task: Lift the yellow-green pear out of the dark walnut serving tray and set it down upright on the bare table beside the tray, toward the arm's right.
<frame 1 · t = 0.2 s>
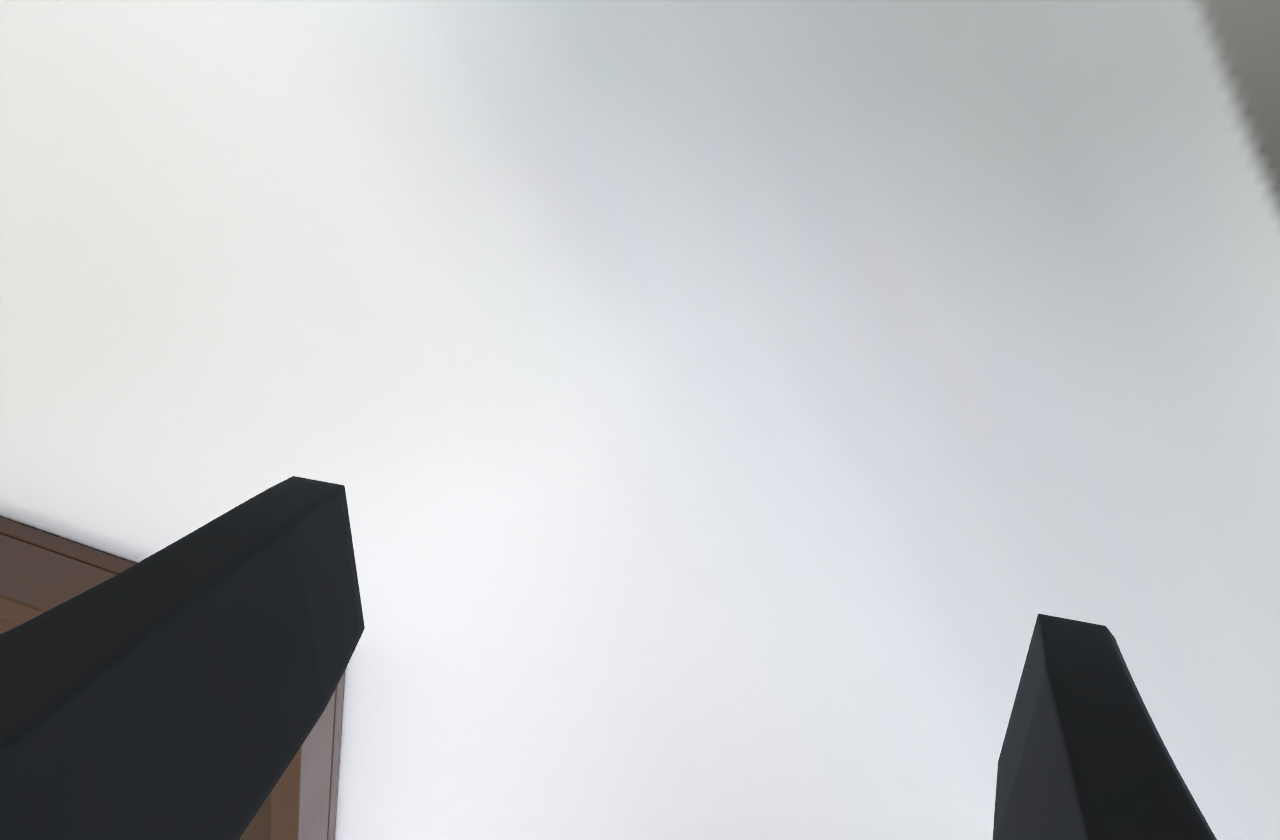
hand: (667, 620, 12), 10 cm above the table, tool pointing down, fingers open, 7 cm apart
tray: (90, 759, 35), on the table
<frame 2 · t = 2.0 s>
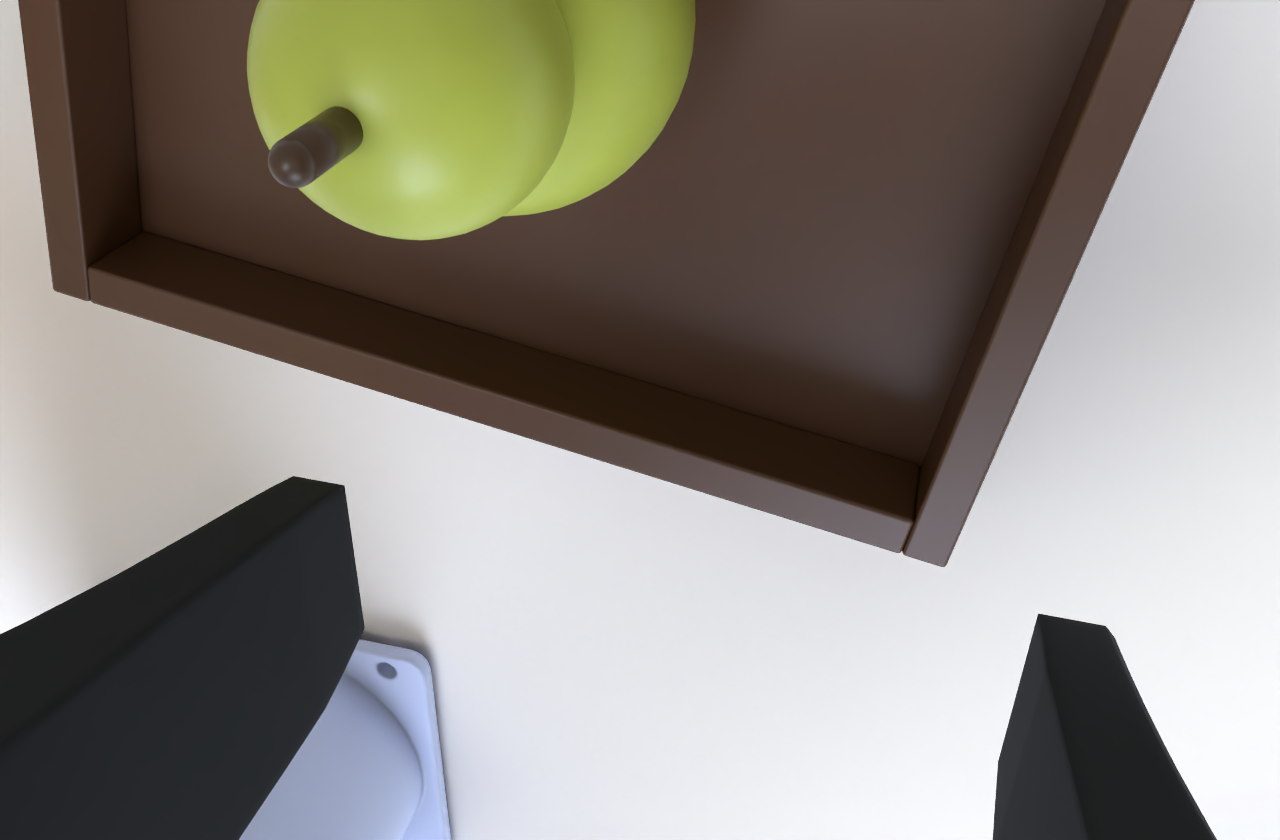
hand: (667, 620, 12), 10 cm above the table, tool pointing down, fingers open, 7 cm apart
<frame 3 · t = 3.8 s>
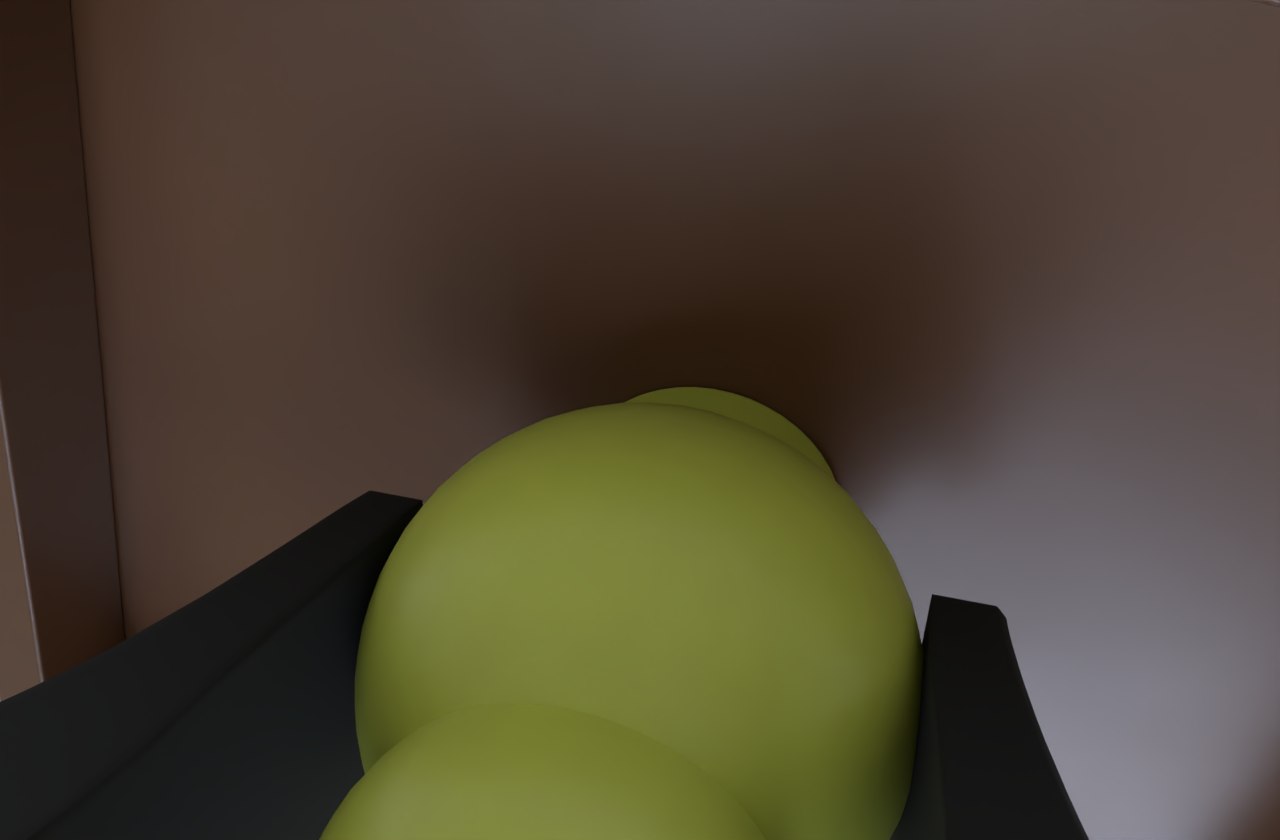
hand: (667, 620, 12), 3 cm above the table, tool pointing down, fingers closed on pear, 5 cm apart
tray: (718, 478, 14), on the table
pear: (706, 502, 14), point 1 cm above the table, touching gripper, tray
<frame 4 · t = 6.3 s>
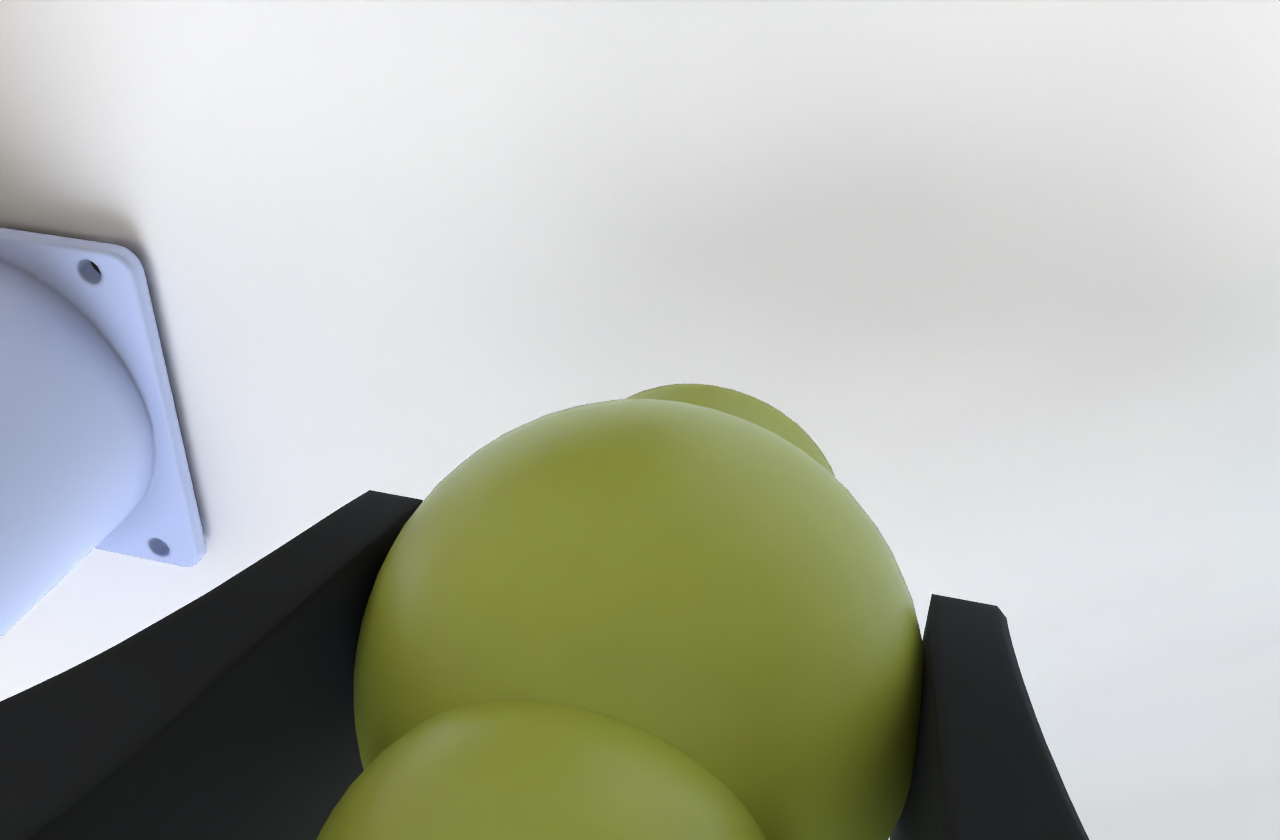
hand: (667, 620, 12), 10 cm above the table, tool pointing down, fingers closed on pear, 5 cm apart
pear: (706, 499, 14), point 7 cm above the table, touching gripper
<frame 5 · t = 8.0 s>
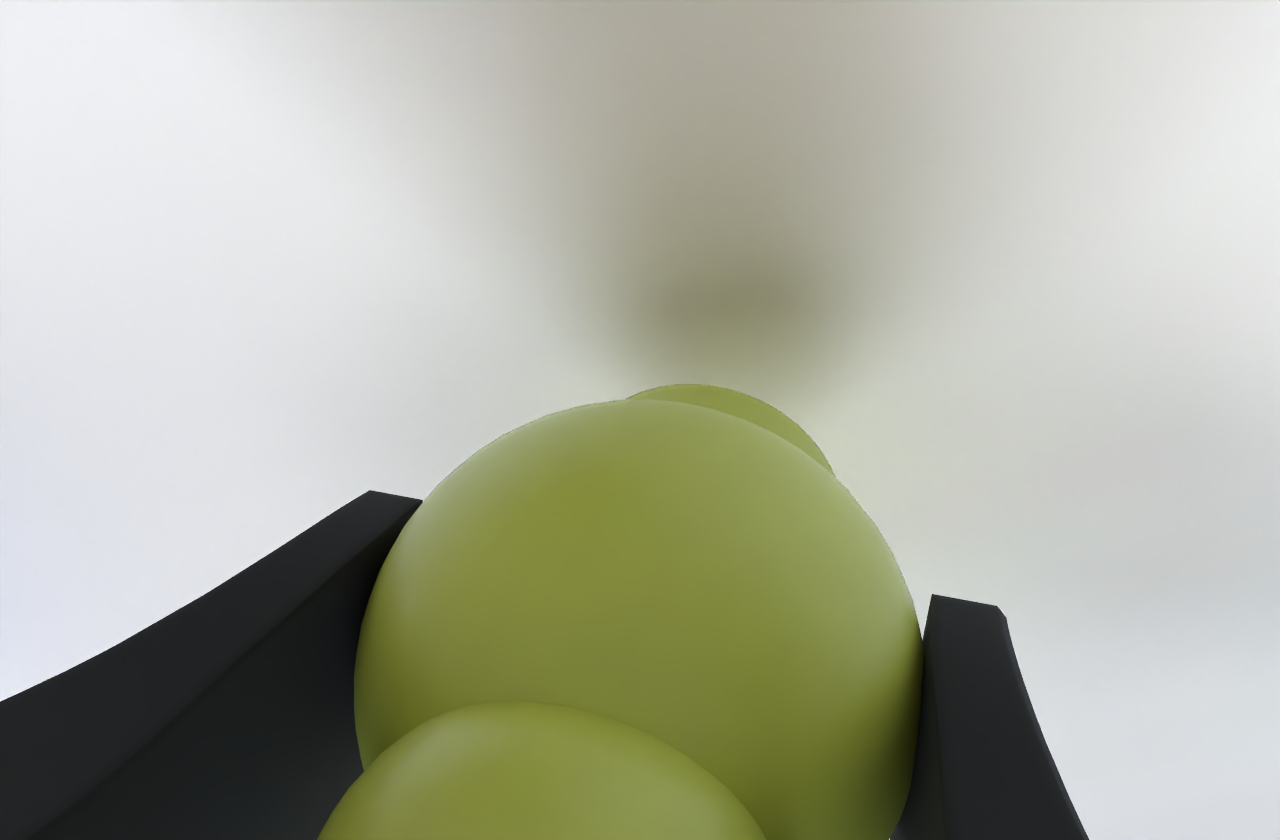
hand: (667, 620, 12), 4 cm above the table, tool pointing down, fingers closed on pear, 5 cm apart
pear: (706, 499, 14), point 2 cm above the table, touching gripper
when the fingers open (2 cm above the table, at t = 9.1 s): pear stays where it is, on the table.
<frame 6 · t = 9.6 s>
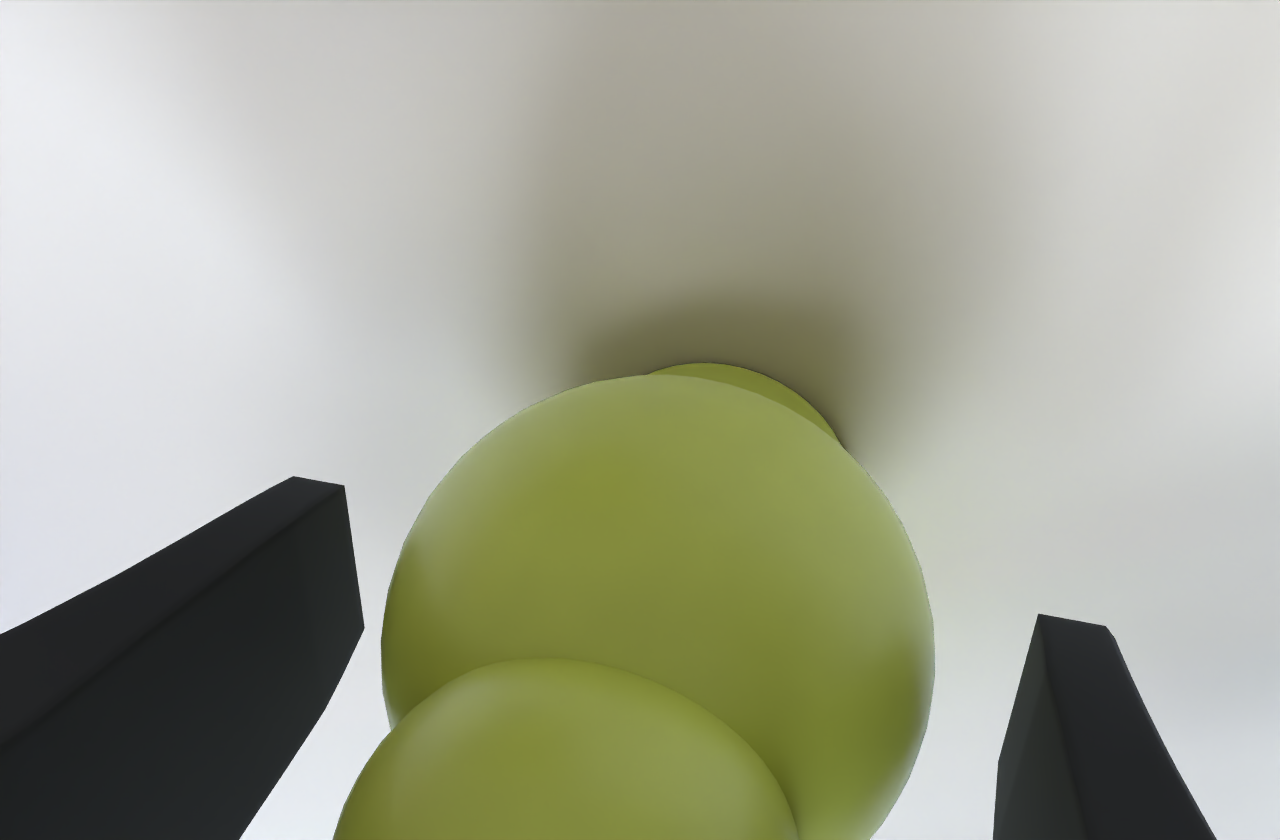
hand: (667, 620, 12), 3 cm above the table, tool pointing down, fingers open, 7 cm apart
pear: (718, 476, 14), on the table
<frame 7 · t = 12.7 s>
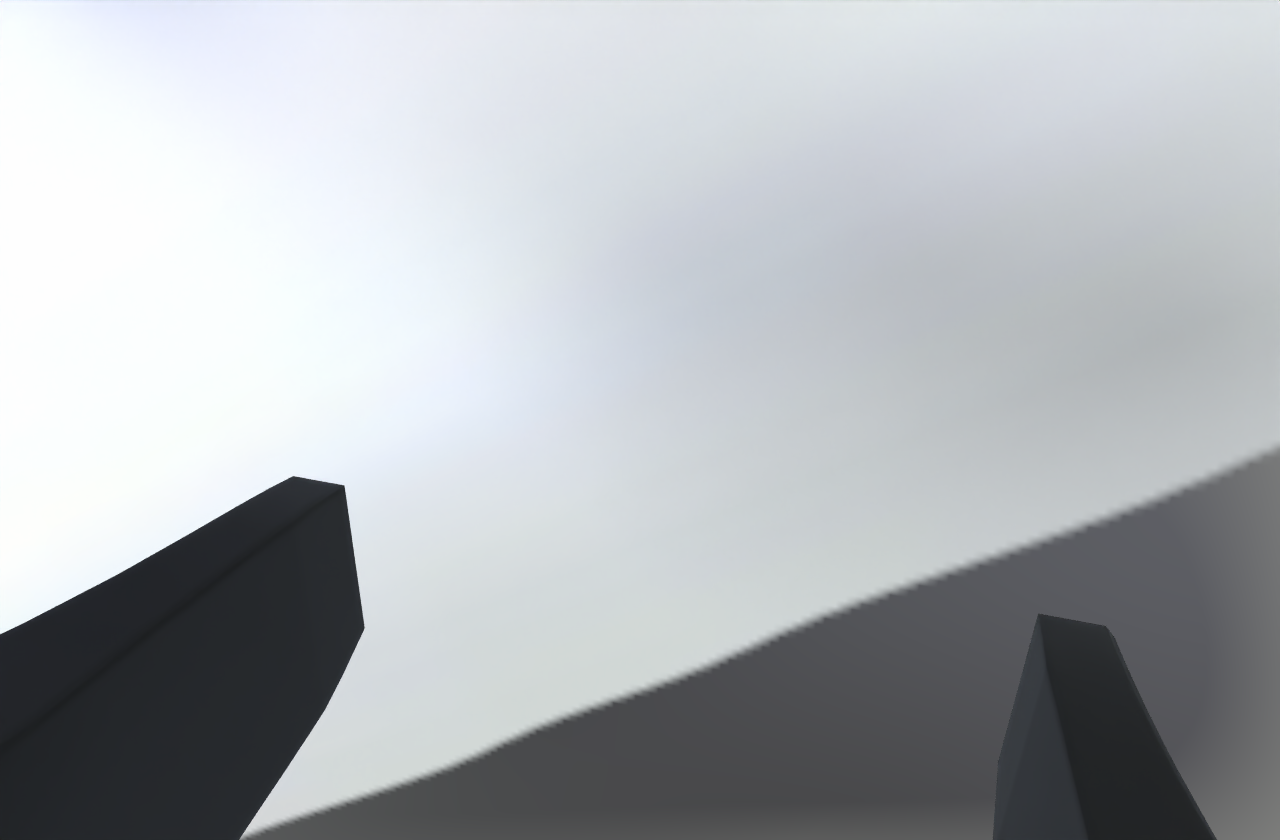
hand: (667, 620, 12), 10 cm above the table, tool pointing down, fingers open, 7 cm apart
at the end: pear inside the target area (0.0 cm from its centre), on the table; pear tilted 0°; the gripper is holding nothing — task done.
